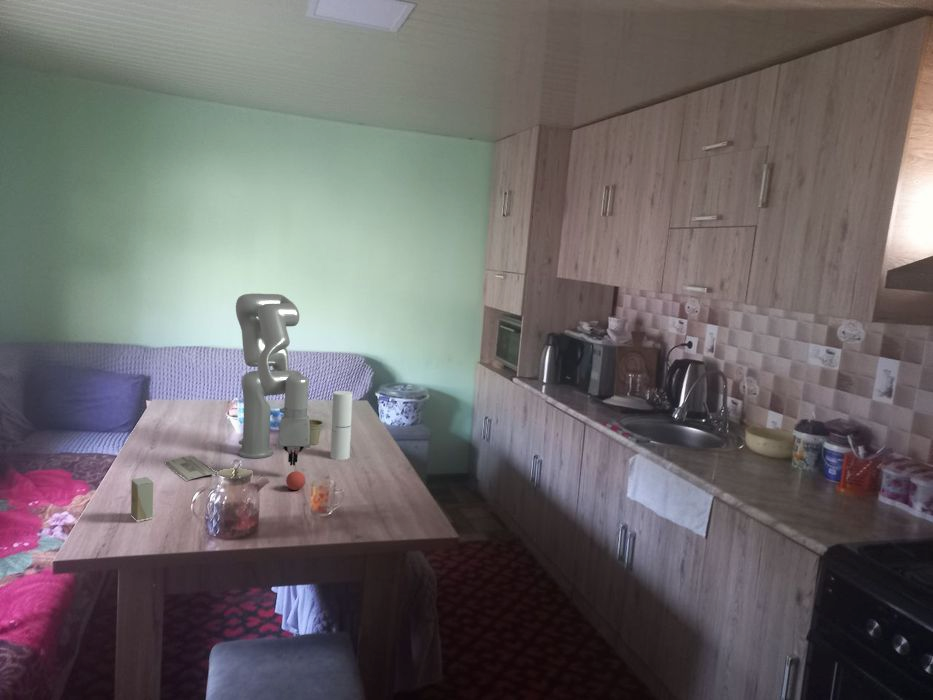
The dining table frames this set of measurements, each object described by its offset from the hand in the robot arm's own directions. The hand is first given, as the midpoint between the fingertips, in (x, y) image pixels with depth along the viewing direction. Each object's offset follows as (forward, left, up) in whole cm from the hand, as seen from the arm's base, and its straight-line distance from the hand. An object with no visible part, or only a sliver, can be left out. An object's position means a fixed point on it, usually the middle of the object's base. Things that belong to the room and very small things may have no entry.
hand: (292, 464), depth 223 cm
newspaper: (-29, -18, -6) cm, 35 cm away
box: (-2, -51, -5) cm, 52 cm away
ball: (+10, -7, -2) cm, 12 cm away
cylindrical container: (-5, +28, -5) cm, 29 cm away
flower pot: (-26, +32, -5) cm, 41 cm away
